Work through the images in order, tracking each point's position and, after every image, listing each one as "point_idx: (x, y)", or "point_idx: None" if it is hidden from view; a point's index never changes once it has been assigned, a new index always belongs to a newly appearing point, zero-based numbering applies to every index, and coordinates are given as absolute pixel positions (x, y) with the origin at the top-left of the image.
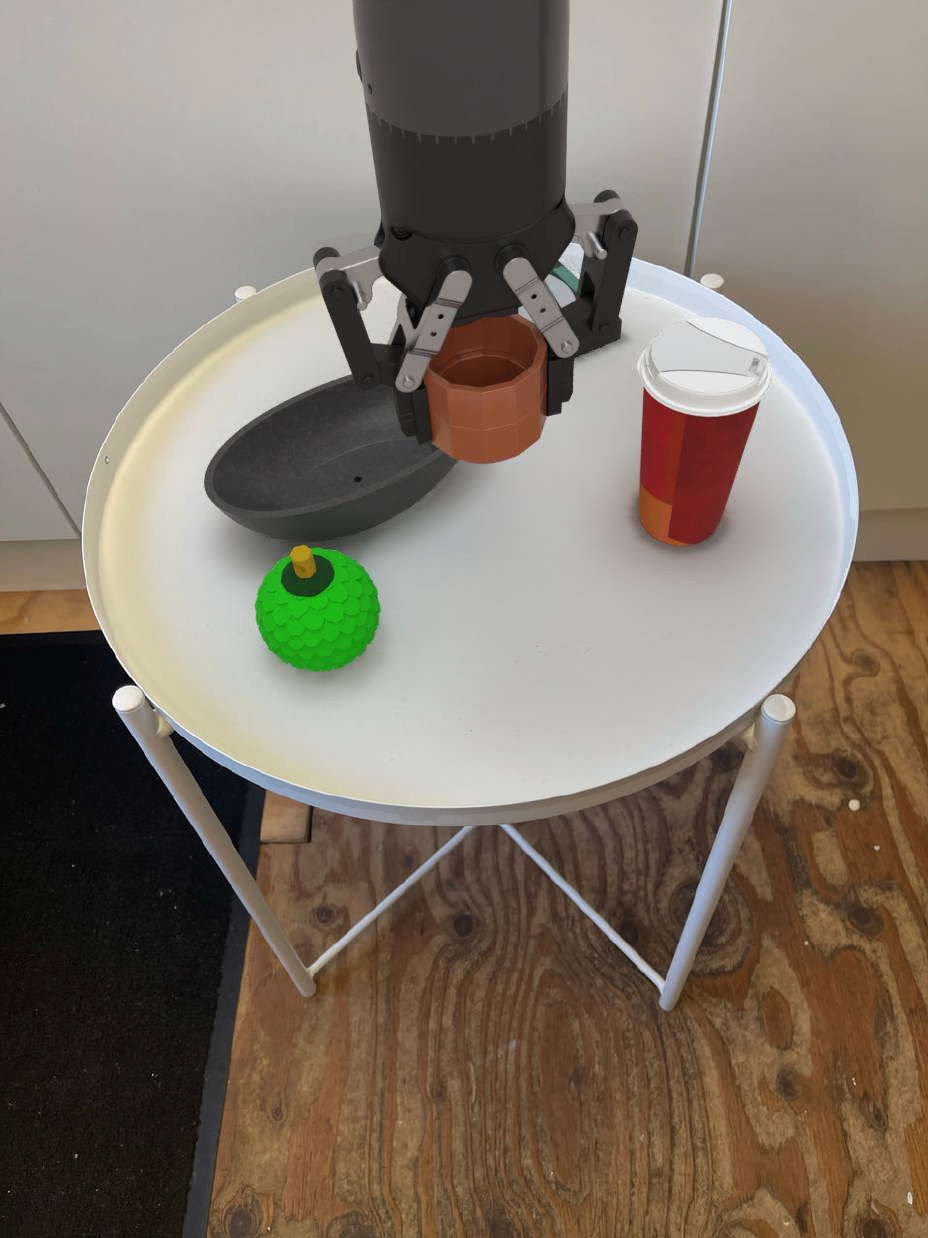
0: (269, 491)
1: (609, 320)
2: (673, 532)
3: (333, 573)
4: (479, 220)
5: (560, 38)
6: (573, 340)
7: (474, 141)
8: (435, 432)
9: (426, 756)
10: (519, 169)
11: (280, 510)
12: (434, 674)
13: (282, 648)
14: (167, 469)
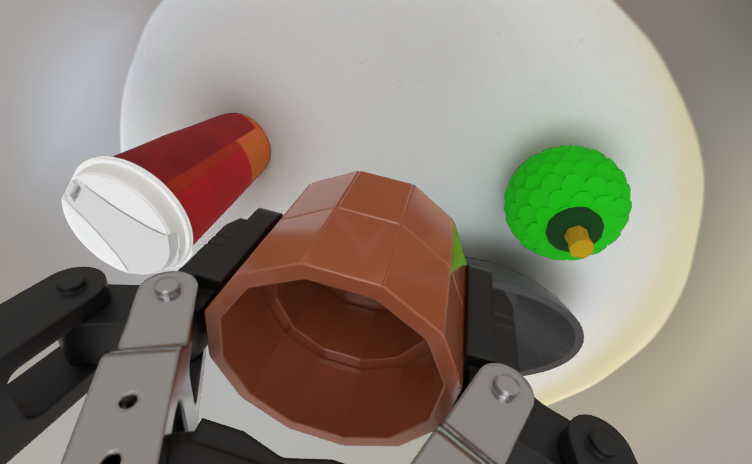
0: (517, 320)
1: (47, 293)
2: (249, 127)
3: (552, 219)
4: None
5: None
6: (146, 293)
7: None
8: (462, 273)
9: (551, 26)
10: None
11: (539, 301)
12: (493, 106)
13: (625, 181)
14: (562, 371)
